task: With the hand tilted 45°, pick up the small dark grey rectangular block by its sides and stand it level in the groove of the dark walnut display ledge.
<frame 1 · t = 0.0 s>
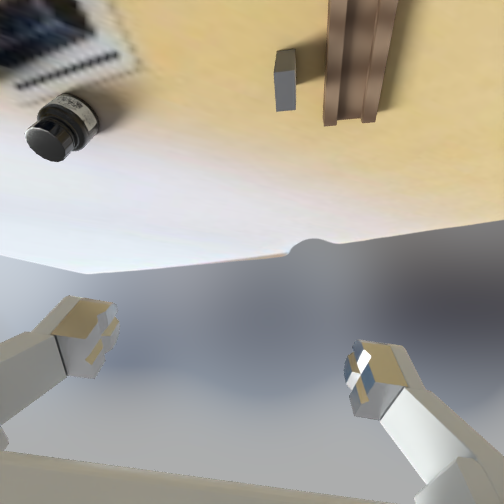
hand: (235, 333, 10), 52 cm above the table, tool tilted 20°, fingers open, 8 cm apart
dark grey rectangular block: (286, 68, 49), on the table
display ledge: (353, 60, 47), on the table
ink bottle: (78, 115, 60), on the table
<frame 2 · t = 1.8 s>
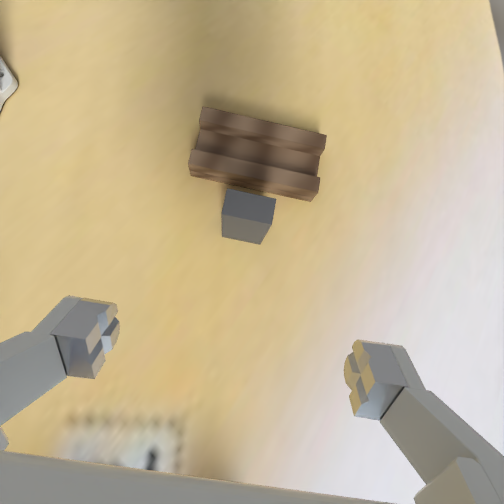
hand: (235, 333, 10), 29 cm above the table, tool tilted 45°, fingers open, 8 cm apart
dark grey rectangular block: (243, 230, 41), on the table
display ledge: (257, 161, 43), on the table
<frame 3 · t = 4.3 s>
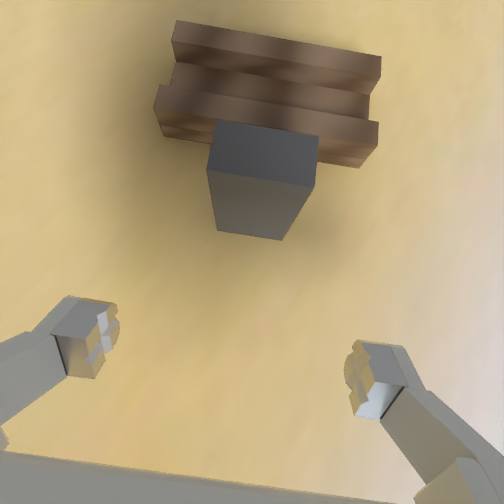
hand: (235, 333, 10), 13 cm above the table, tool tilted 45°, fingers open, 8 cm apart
dark grey rectangular block: (252, 219, 24), on the table
display ledge: (268, 110, 27), on the table
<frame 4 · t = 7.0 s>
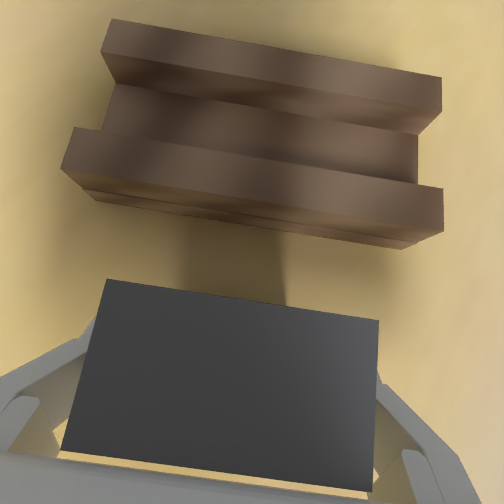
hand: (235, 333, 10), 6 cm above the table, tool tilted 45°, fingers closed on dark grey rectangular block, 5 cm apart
dark grey rectangular block: (233, 340, 15), on the table, touching gripper
display ledge: (261, 157, 18), on the table
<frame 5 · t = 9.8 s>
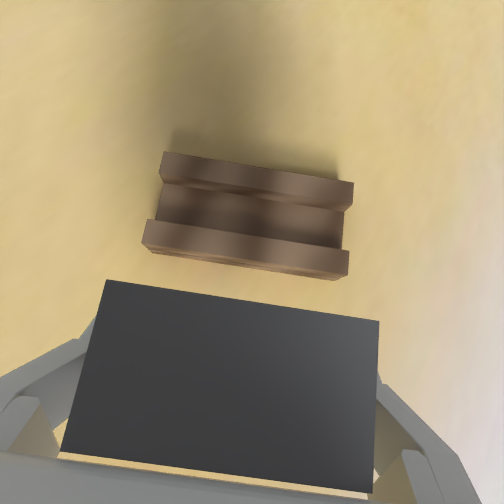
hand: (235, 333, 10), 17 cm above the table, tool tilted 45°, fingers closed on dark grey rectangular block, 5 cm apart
dark grey rectangular block: (233, 340, 15), point 12 cm above the table, touching gripper
display ledge: (250, 223, 29), on the table
when the fingers open (9 cm above the table, at t = 12.6 s): dark grey rectangular block drops 1 cm, resting on display ledge.
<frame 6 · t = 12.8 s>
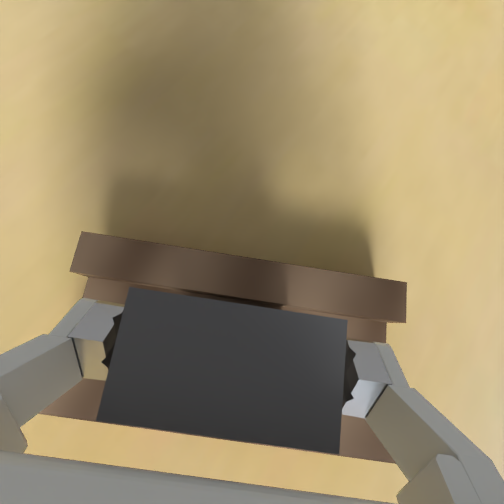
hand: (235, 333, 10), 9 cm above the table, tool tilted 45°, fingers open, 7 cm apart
dark grey rectangular block: (232, 338, 16), point 1 cm above the table, touching display ledge
display ledge: (233, 337, 18), on the table
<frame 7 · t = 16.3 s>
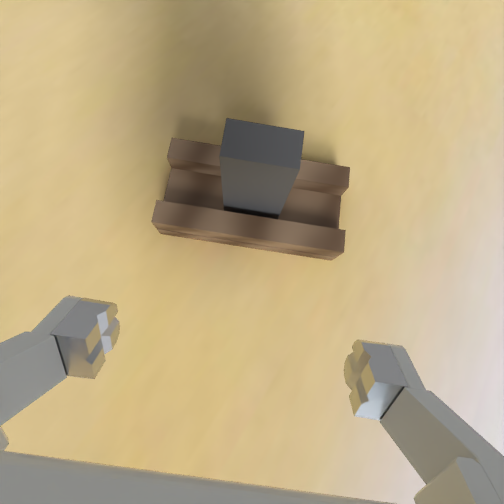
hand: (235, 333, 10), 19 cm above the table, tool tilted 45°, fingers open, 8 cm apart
dark grey rectangular block: (253, 201, 29), point 1 cm above the table, touching display ledge
display ledge: (252, 207, 31), on the table
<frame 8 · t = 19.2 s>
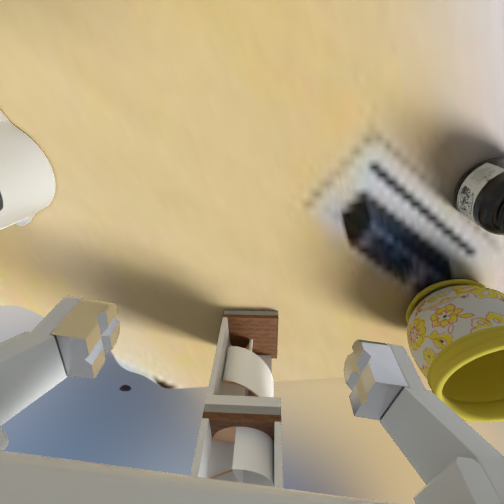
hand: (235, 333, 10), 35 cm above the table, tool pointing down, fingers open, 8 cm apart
flowerpot: (443, 305, 53), on the table
rack with curved panels: (251, 330, 59), on the table
ink bottle: (484, 187, 41), on the table
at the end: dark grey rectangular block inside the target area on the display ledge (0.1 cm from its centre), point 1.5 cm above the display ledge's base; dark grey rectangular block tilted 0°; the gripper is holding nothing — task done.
